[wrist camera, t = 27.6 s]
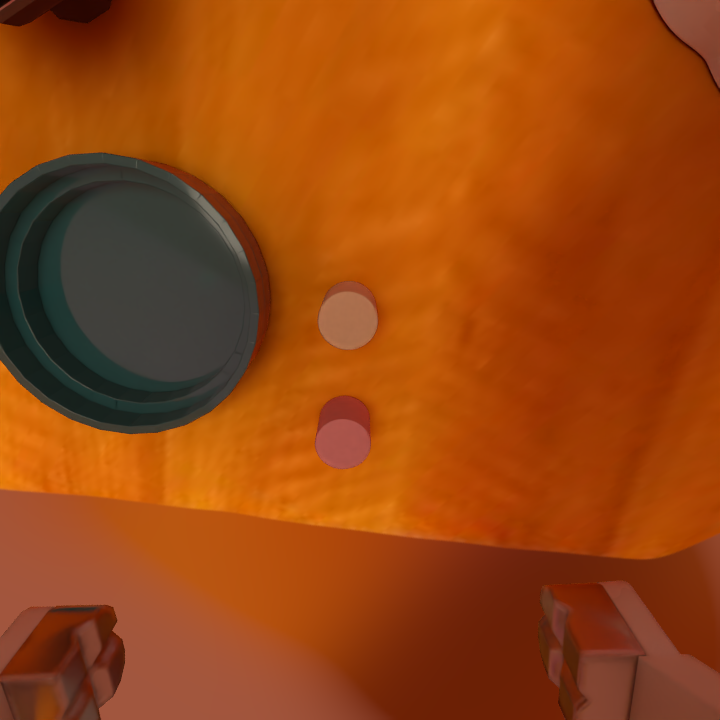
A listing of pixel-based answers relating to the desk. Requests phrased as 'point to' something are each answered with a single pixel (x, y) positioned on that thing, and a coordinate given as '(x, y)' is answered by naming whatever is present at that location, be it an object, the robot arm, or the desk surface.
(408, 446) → the desk surface
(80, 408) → the bowl
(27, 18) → the ice cream bowl
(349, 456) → the pink marshmallow
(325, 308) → the cream marshmallow
